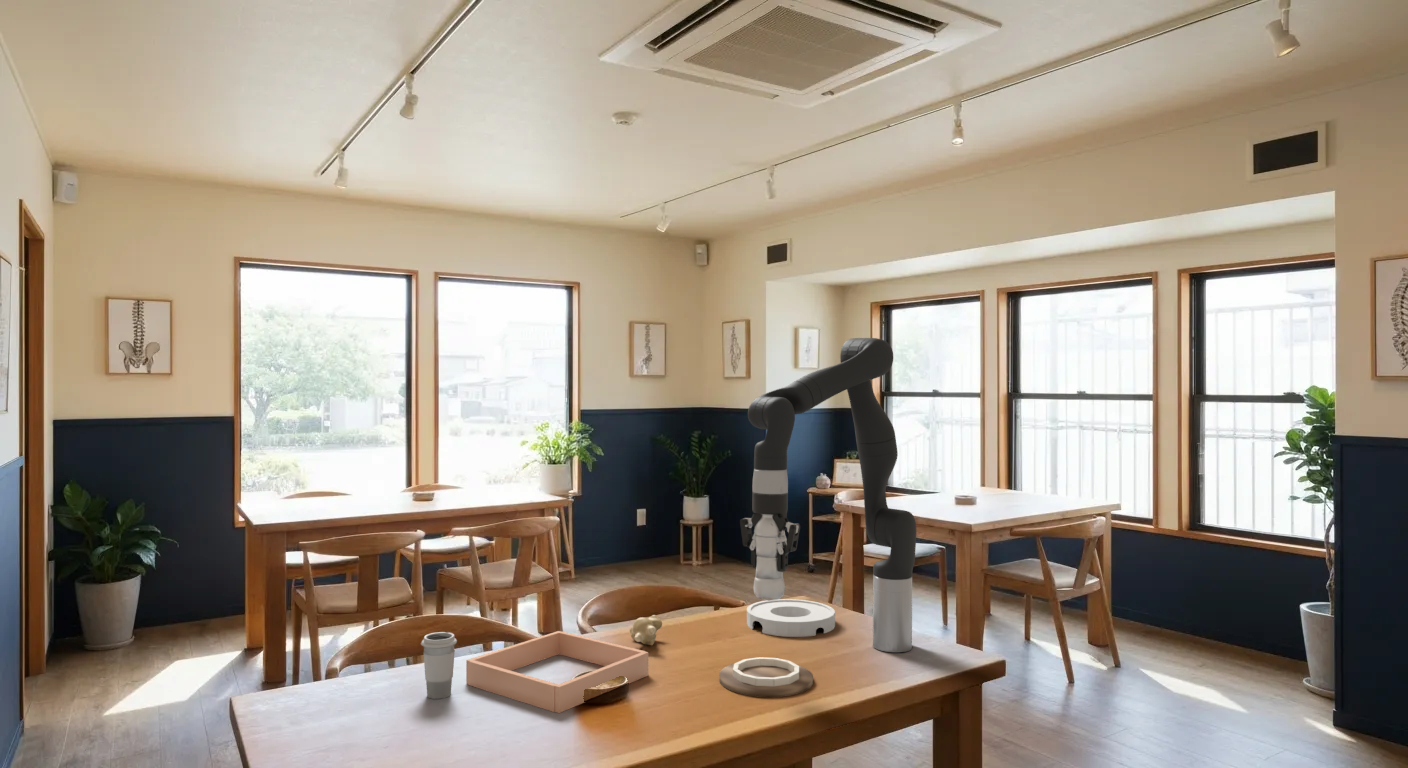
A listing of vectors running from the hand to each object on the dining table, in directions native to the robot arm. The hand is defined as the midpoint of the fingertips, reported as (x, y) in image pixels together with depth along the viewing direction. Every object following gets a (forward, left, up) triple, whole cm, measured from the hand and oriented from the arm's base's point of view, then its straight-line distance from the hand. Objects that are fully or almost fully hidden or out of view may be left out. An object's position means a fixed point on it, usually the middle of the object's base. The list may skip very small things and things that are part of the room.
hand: (769, 569), depth 191 cm
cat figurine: (-4, -38, -24) cm, 45 cm away
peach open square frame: (+26, -37, -24) cm, 51 cm away
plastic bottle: (0, 0, -7) cm, 7 cm away
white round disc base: (-41, -19, -25) cm, 51 cm away
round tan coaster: (0, -1, -24) cm, 24 cm away
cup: (+47, -50, -24) cm, 72 cm away
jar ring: (0, -1, -23) cm, 23 cm away
